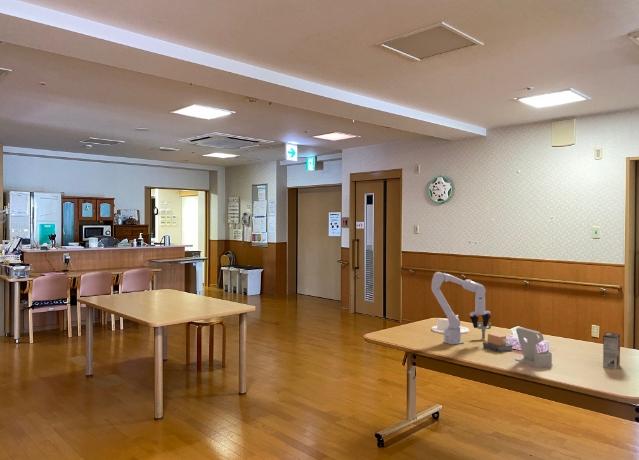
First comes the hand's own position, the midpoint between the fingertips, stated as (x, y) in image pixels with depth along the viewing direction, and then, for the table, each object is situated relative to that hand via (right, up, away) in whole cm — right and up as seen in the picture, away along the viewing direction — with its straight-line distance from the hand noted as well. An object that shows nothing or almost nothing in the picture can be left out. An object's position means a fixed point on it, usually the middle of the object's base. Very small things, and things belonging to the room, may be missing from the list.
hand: (480, 327), depth 300 cm
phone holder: (+15, -11, -40) cm, 44 cm away
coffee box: (+51, -11, -48) cm, 71 cm away
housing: (+6, -7, -12) cm, 15 cm away
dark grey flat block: (+6, -10, -13) cm, 17 cm away
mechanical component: (+6, -10, +13) cm, 17 cm away
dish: (-8, -10, +37) cm, 39 cm away
